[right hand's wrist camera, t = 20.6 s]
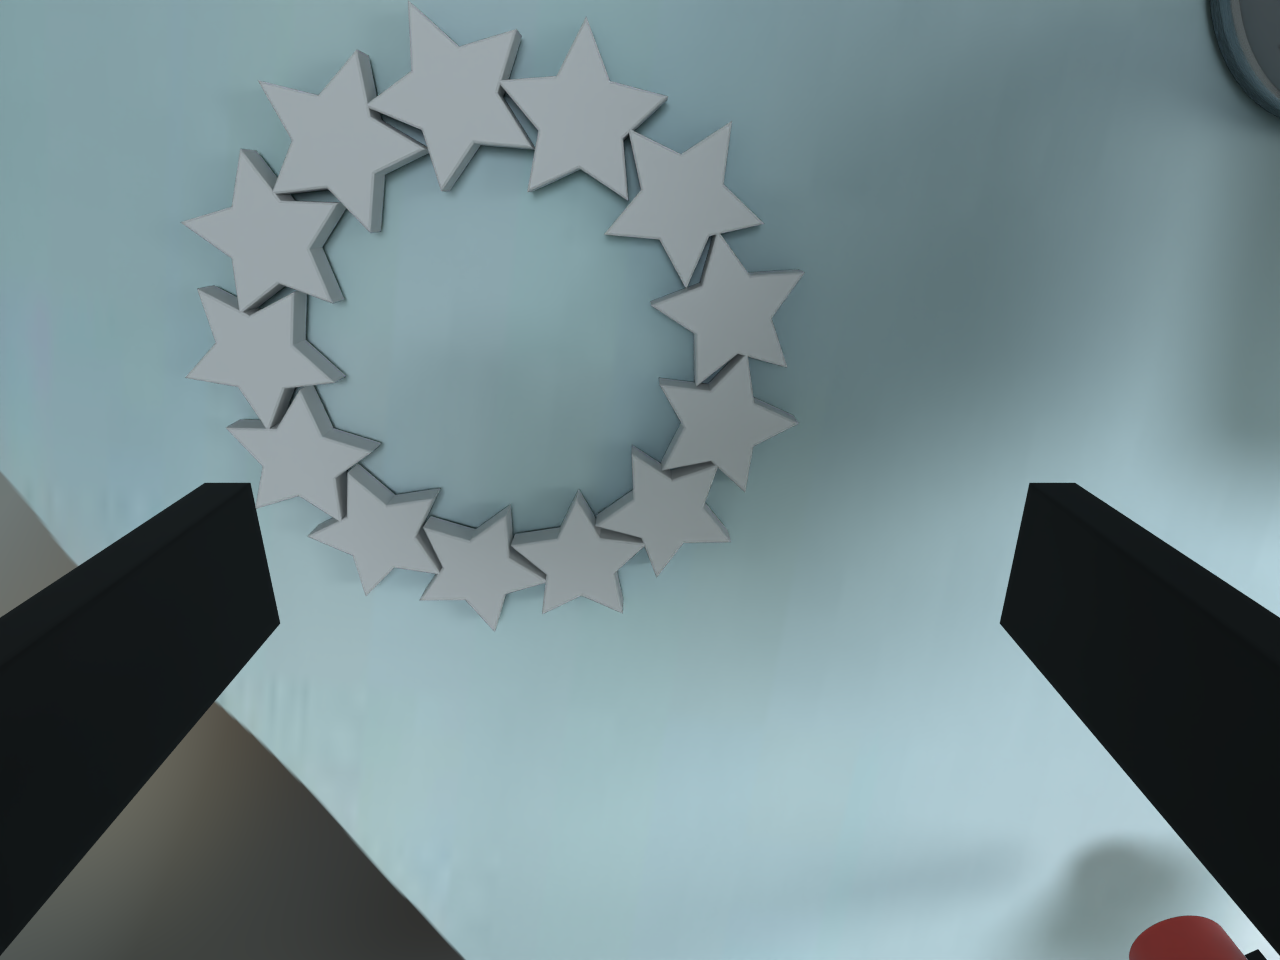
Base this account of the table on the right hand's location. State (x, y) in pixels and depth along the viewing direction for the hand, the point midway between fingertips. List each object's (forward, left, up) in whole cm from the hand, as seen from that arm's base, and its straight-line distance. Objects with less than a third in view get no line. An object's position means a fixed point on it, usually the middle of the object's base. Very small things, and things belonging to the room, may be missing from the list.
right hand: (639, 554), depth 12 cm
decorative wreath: (0, -7, -25) cm, 26 cm away
